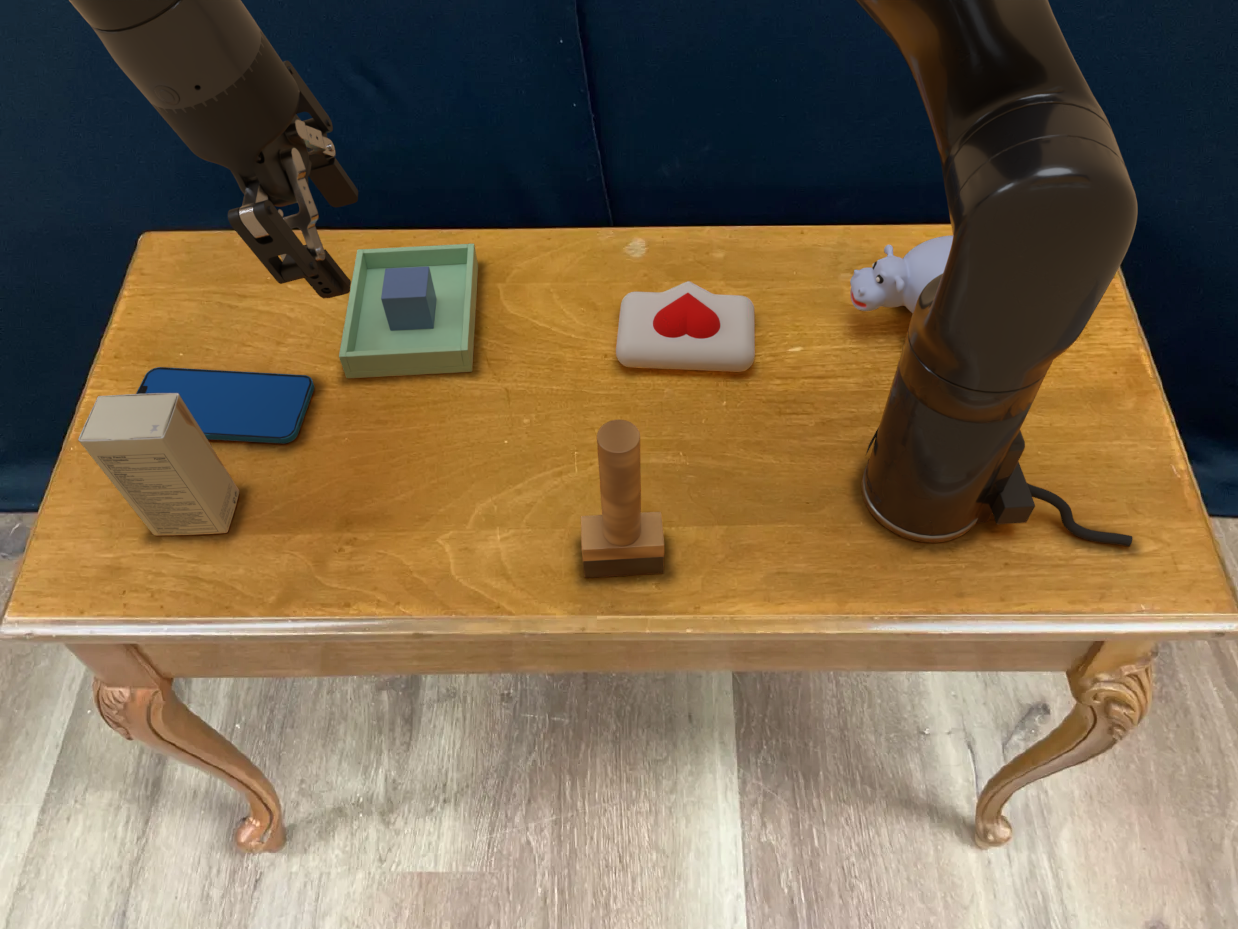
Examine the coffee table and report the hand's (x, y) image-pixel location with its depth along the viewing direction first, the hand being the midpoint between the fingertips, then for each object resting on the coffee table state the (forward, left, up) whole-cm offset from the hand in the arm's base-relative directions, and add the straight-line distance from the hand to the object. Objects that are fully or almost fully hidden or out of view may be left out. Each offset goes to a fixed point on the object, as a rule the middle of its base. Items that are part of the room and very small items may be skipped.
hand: (342, 245), depth 68 cm
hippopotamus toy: (-48, -8, -19) cm, 52 cm away
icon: (-26, -8, -19) cm, 33 cm away
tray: (-1, -12, -19) cm, 22 cm away
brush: (-19, +16, -19) cm, 31 cm away
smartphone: (+15, -2, -19) cm, 24 cm away
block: (-1, -12, -18) cm, 22 cm away
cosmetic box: (+15, +9, -19) cm, 26 cm away
